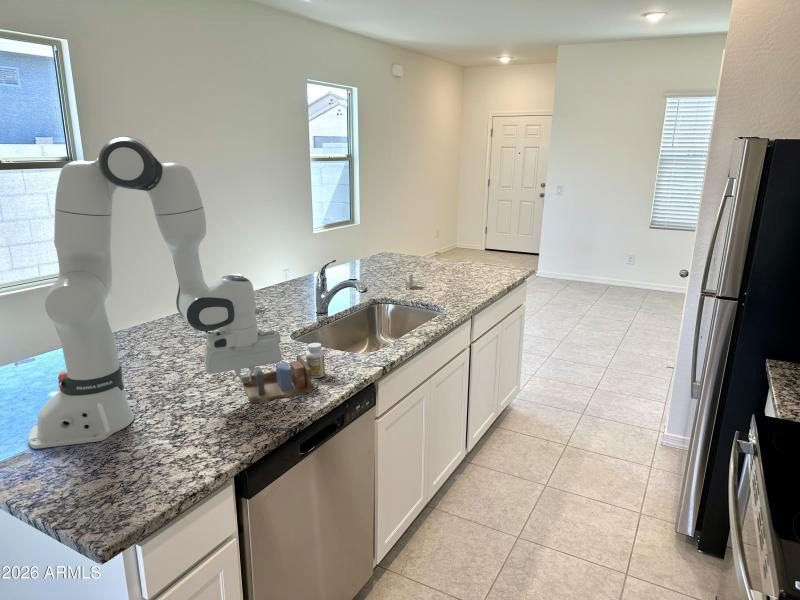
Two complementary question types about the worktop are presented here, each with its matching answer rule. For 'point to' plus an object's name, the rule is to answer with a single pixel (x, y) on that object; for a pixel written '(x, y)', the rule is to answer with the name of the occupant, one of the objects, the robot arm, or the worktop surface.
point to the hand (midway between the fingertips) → (245, 382)
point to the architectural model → (409, 281)
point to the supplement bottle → (315, 360)
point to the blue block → (284, 376)
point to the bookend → (259, 381)
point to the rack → (272, 390)
